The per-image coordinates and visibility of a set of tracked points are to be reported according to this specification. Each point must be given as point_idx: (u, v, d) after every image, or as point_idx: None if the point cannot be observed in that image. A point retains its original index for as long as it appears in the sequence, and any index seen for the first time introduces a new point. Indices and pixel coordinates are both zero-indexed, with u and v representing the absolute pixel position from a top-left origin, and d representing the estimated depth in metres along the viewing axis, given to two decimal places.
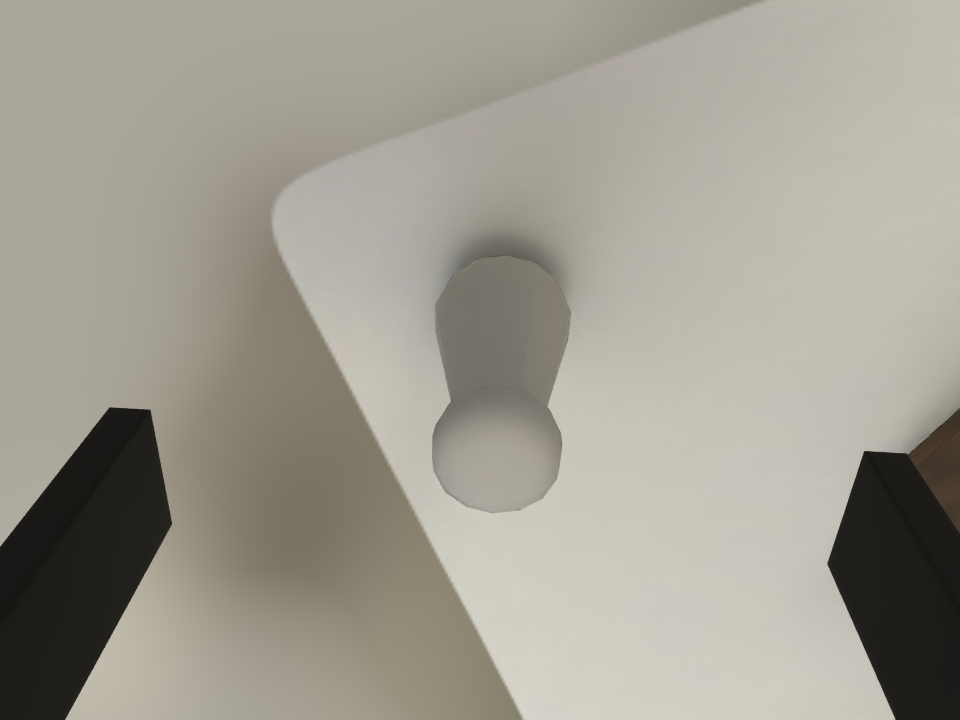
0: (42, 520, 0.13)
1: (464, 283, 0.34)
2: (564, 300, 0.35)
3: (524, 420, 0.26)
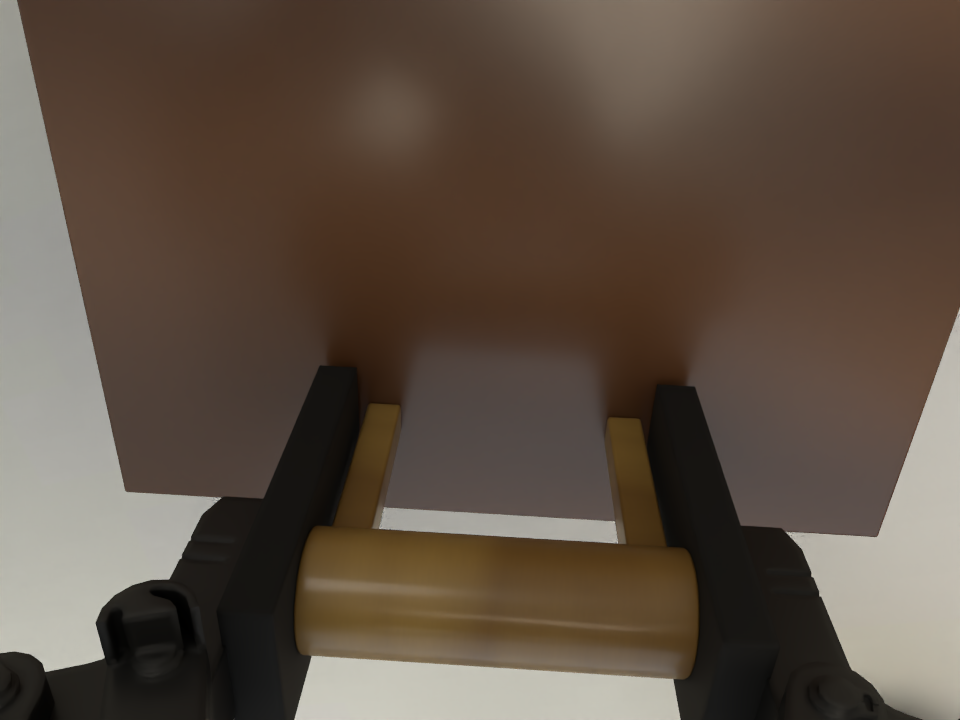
0: (299, 458, 0.14)
1: None
2: None
3: None
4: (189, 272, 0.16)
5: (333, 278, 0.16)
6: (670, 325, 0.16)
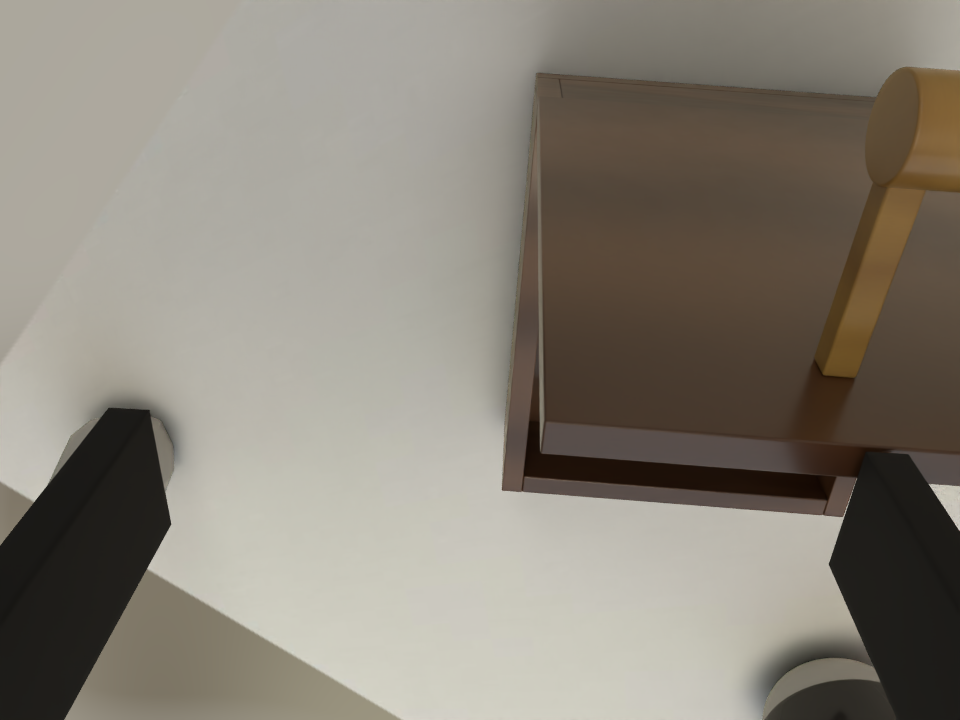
0: (41, 520, 0.13)
1: None
2: None
3: None
4: (636, 282, 0.20)
5: (755, 290, 0.20)
6: None
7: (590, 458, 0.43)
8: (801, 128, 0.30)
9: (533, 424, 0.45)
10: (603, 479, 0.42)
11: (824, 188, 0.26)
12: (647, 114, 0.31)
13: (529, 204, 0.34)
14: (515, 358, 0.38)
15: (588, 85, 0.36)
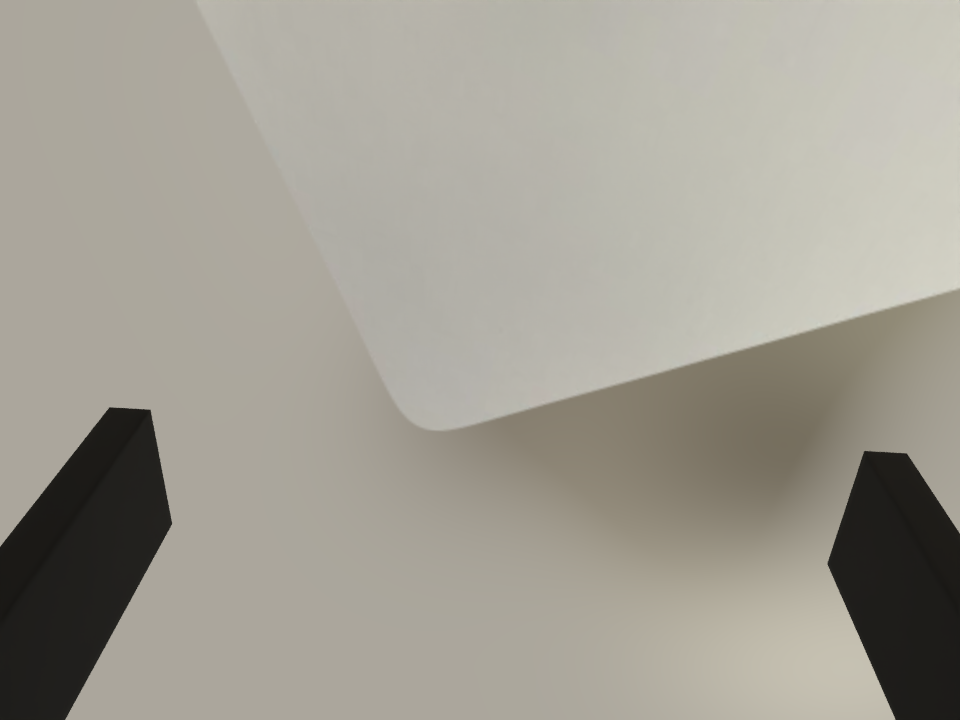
0: (42, 520, 0.13)
1: None
2: None
3: None
4: None
5: None
6: None
7: None
8: None
9: None
10: None
11: None
12: None
13: None
14: None
15: None
